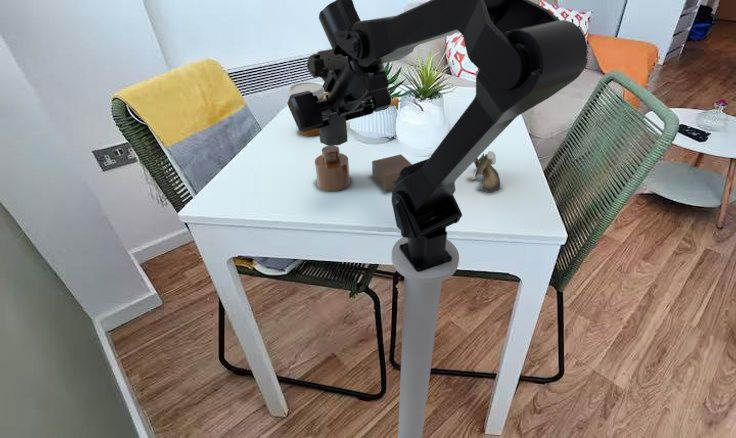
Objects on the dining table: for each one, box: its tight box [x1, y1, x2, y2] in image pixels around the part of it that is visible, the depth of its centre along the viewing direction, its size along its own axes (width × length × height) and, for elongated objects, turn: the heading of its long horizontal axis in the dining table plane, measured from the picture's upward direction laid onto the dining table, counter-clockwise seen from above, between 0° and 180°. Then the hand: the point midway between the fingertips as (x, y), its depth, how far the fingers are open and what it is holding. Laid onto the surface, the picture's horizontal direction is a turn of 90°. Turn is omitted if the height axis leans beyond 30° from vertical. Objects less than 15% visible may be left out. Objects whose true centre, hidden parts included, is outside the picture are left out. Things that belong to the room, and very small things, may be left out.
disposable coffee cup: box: [287, 81, 325, 137], centre depth 100 cm, size 10×10×12 cm
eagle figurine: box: [470, 150, 501, 194], centre depth 79 cm, size 8×7×9 cm
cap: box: [319, 99, 348, 146], centre depth 74 cm, size 5×5×8 cm
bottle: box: [314, 145, 351, 192], centre depth 79 cm, size 7×7×8 cm
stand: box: [371, 154, 413, 193], centre depth 80 cm, size 7×7×4 cm
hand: (329, 122), depth 75 cm, fingers closed on cap, 5 cm apart
